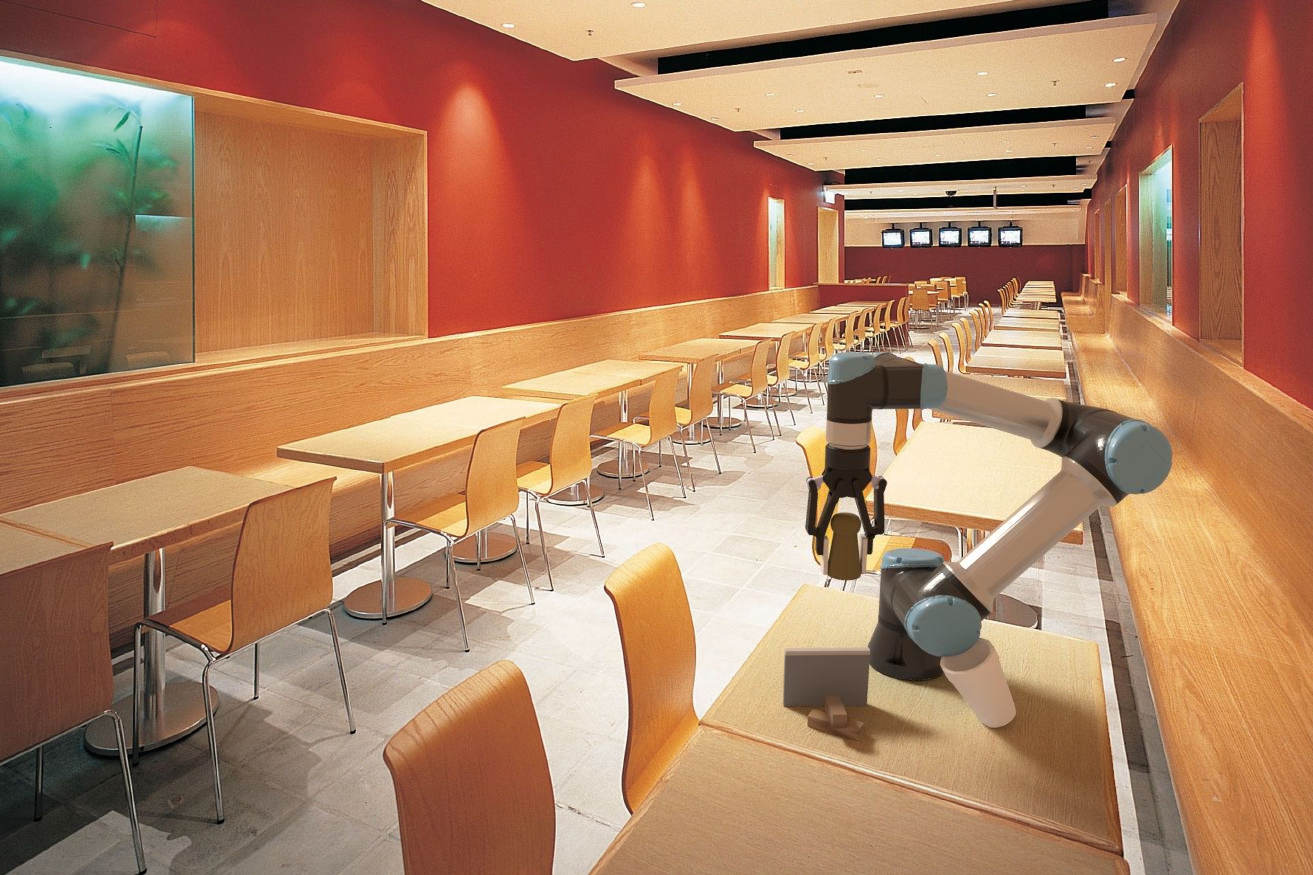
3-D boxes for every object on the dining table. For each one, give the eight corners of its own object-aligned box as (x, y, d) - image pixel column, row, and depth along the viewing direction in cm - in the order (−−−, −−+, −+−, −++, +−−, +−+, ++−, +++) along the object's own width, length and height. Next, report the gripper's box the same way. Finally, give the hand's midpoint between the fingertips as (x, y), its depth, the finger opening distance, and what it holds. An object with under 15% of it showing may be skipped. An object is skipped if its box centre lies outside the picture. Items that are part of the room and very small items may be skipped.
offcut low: (863, 735, 146) (863, 722, 146) (858, 743, 144) (859, 729, 144) (812, 721, 151) (812, 708, 150) (807, 728, 149) (807, 715, 148)
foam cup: (1034, 717, 145) (1002, 656, 142) (983, 742, 146) (951, 681, 143) (1011, 688, 154) (981, 630, 151) (964, 711, 155) (933, 654, 152)
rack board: (865, 702, 156) (868, 647, 154) (867, 705, 155) (870, 650, 153) (782, 702, 156) (784, 648, 154) (783, 706, 155) (785, 651, 152)
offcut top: (846, 727, 144) (847, 714, 144) (832, 728, 144) (832, 714, 144) (838, 709, 150) (839, 696, 150) (825, 709, 150) (825, 696, 150)
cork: (819, 570, 153) (821, 511, 151) (847, 565, 155) (850, 507, 153) (839, 582, 148) (842, 521, 145) (868, 577, 150) (871, 516, 148)
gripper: (897, 438, 150) (891, 563, 156) (788, 439, 150) (785, 564, 156) (910, 448, 143) (902, 579, 148) (795, 449, 143) (792, 580, 148)
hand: (843, 571), depth 152 cm, fingers closed on cork, 6 cm apart
